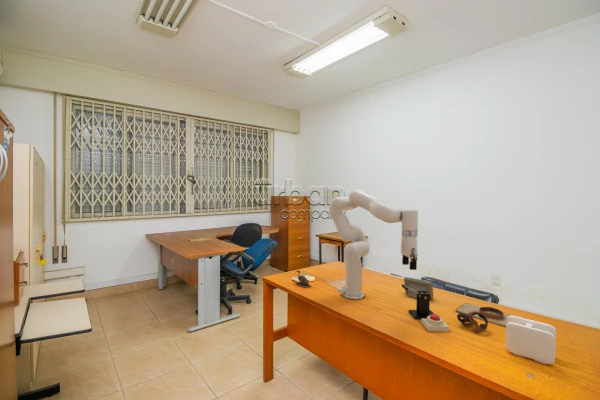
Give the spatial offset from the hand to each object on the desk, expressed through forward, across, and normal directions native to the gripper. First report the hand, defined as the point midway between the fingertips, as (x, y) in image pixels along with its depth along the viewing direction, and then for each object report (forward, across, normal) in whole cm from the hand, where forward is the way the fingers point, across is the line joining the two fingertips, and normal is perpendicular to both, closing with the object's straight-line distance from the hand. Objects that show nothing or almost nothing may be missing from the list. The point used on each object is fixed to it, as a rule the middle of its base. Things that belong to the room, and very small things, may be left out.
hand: (409, 266), depth 143 cm
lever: (+13, +3, +1) cm, 13 cm away
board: (+24, +3, +38) cm, 45 cm away
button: (+20, +15, +6) cm, 26 cm away
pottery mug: (+24, +16, +22) cm, 36 cm away
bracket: (+23, +3, +6) cm, 24 cm away
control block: (+24, +15, +6) cm, 29 cm away
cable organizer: (+24, +36, +32) cm, 54 cm away
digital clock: (+24, -22, +14) cm, 36 cm away
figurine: (+23, -43, -54) cm, 73 cm away
